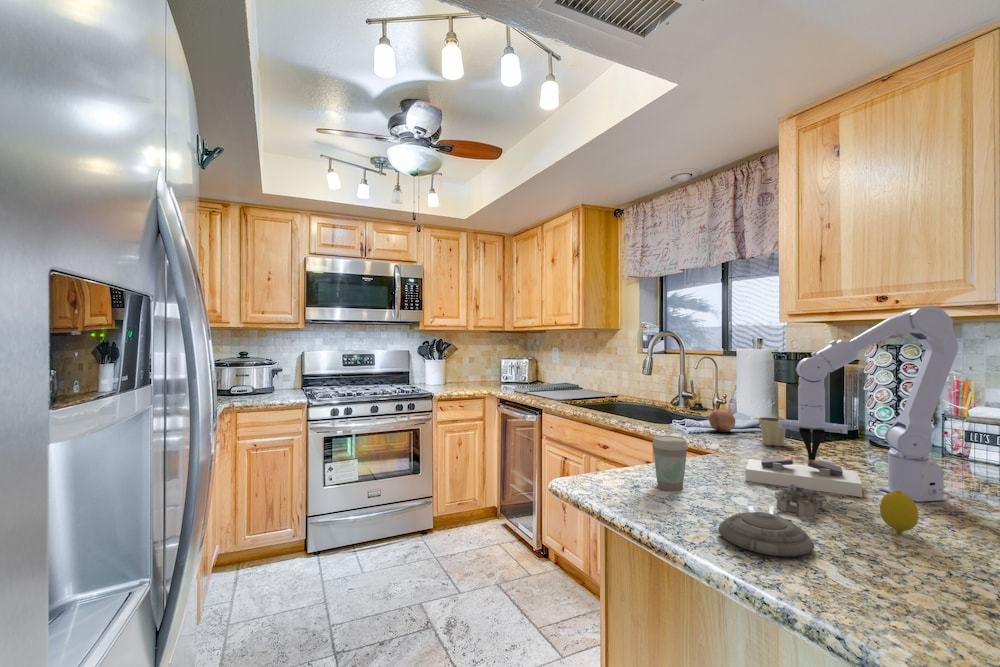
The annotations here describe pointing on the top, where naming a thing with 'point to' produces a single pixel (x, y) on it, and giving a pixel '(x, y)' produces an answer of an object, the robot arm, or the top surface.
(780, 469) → the breaker panel
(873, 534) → the top surface
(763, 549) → the flying saucer
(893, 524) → the lemon
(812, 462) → the breaker near
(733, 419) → the onion
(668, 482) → the coffee cup
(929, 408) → the robot arm
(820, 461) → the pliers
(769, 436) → the flower pot
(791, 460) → the breaker far
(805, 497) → the grey stone ruin model
